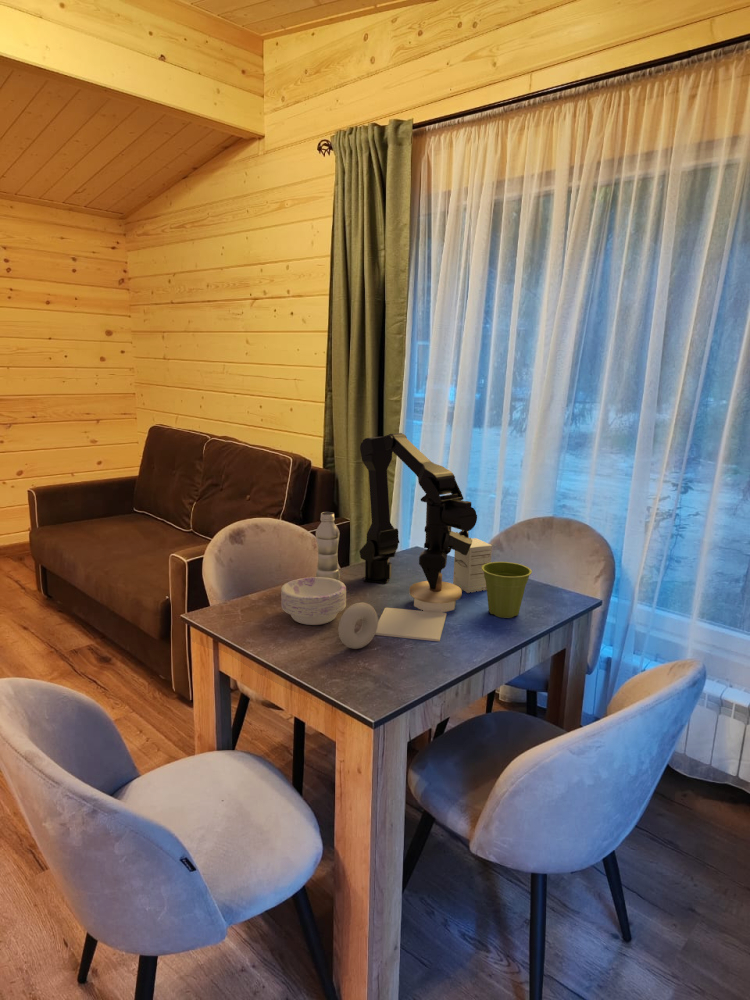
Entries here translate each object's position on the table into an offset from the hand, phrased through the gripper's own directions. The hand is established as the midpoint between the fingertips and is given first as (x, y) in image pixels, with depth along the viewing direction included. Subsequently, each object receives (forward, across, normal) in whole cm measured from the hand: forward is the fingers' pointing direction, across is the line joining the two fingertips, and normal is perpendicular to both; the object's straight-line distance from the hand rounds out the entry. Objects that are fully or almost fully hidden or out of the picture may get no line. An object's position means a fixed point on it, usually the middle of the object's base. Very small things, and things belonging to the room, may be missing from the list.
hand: (435, 582), depth 158 cm
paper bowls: (+6, -15, +27) cm, 31 cm away
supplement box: (+6, +15, -8) cm, 18 cm away
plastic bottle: (+6, +7, +30) cm, 31 cm away
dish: (+6, 0, 0) cm, 6 cm away
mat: (+6, -14, +4) cm, 15 cm away
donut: (+6, -28, +13) cm, 31 cm away
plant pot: (+6, -1, -17) cm, 18 cm away
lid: (+3, 0, 0) cm, 3 cm away
